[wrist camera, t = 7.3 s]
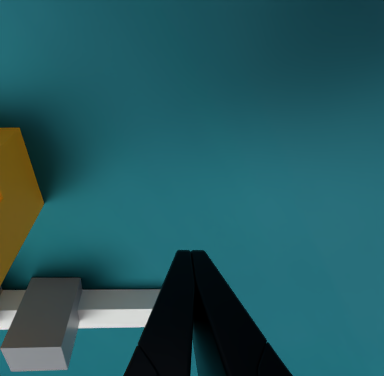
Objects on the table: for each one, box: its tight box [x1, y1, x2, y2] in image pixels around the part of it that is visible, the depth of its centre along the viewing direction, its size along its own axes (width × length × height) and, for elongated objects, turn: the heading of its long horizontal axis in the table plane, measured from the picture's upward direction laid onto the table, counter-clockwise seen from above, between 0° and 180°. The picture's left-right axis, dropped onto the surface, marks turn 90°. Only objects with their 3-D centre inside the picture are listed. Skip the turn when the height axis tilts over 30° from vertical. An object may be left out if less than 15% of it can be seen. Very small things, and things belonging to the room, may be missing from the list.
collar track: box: [0, 278, 161, 371], centre depth 13 cm, size 19×25×5 cm
